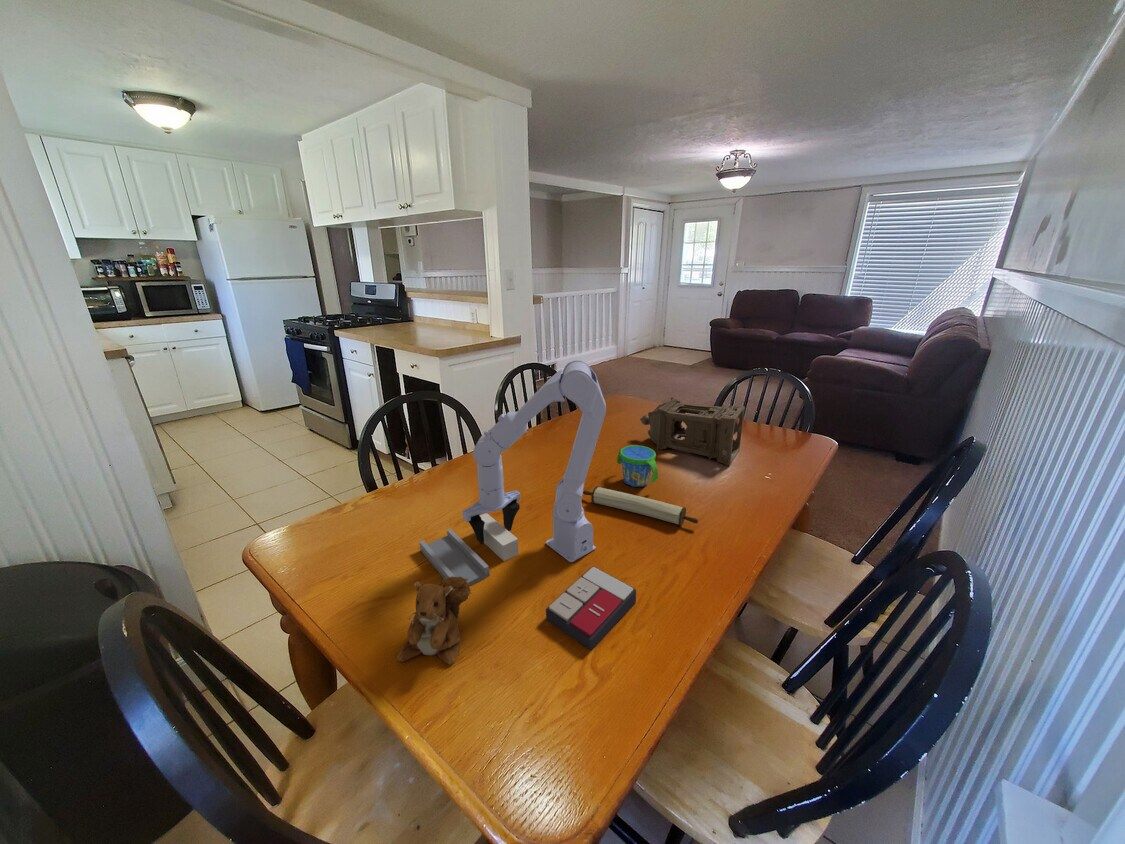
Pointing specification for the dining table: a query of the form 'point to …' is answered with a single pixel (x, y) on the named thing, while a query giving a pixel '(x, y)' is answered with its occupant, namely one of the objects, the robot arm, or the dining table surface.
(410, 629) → the stuffed squirrel
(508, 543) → the white rectangular block
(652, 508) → the rolling pin
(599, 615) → the calculator
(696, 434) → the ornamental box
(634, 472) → the snack cup
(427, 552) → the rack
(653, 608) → the dining table surface
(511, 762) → the dining table surface
